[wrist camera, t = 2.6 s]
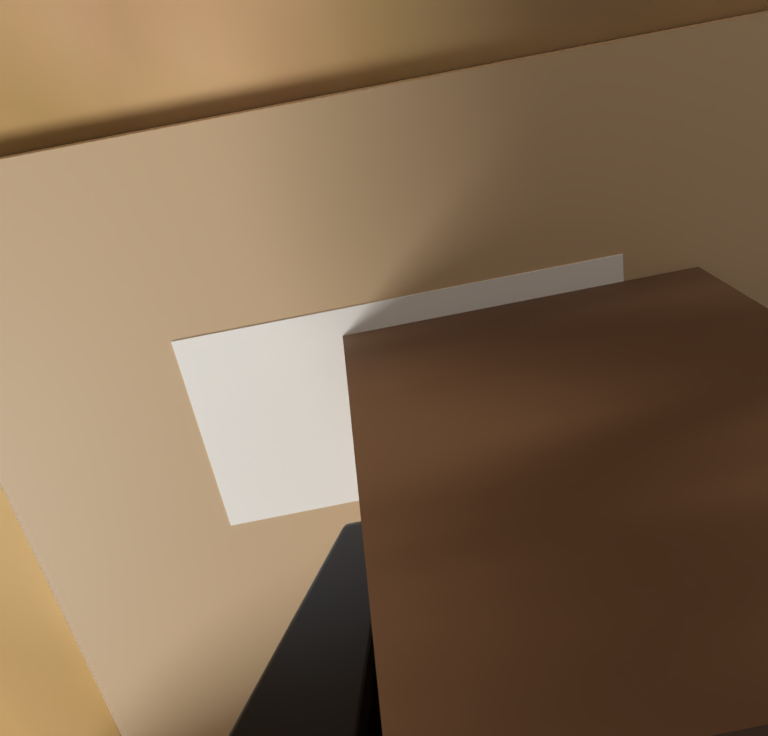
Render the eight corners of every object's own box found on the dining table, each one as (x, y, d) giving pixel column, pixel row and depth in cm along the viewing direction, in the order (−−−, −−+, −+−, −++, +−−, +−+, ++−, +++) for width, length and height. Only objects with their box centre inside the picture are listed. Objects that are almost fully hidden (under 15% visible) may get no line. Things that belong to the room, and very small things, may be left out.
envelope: (1101, -55, 8) (1130, -57, 8) (954, 609, 12) (969, 623, 12) (-128, 182, 8) (-145, 186, 8) (149, 770, 12) (145, 787, 12)
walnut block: (698, 266, 9) (1285, 619, 4) (693, 550, 11) (1070, 1059, 5) (342, 335, 9) (390, 799, 4) (400, 608, 11) (489, 1179, 5)
